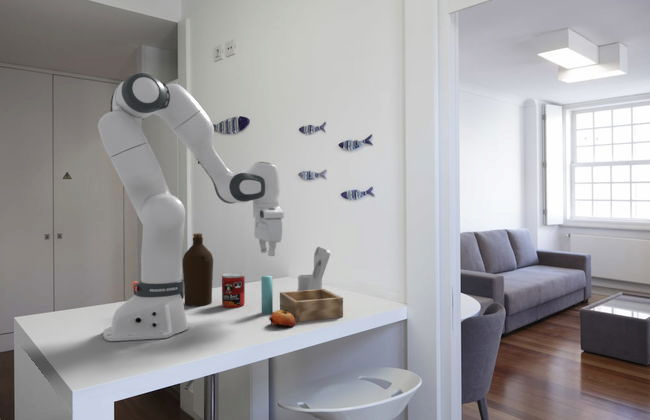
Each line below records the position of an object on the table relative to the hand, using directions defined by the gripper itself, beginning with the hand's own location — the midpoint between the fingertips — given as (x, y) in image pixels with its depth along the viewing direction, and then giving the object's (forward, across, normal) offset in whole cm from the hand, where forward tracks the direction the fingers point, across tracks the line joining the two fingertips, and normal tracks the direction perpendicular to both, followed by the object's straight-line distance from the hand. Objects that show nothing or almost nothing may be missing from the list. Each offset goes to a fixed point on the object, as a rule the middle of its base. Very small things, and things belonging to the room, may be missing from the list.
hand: (267, 254), depth 153 cm
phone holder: (+20, -22, +25) cm, 38 cm away
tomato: (+20, +16, 0) cm, 25 cm away
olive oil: (+19, -23, -19) cm, 36 cm away
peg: (+19, 0, 0) cm, 19 cm away
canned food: (+20, -15, -8) cm, 26 cm away
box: (+20, +6, +13) cm, 24 cm away
